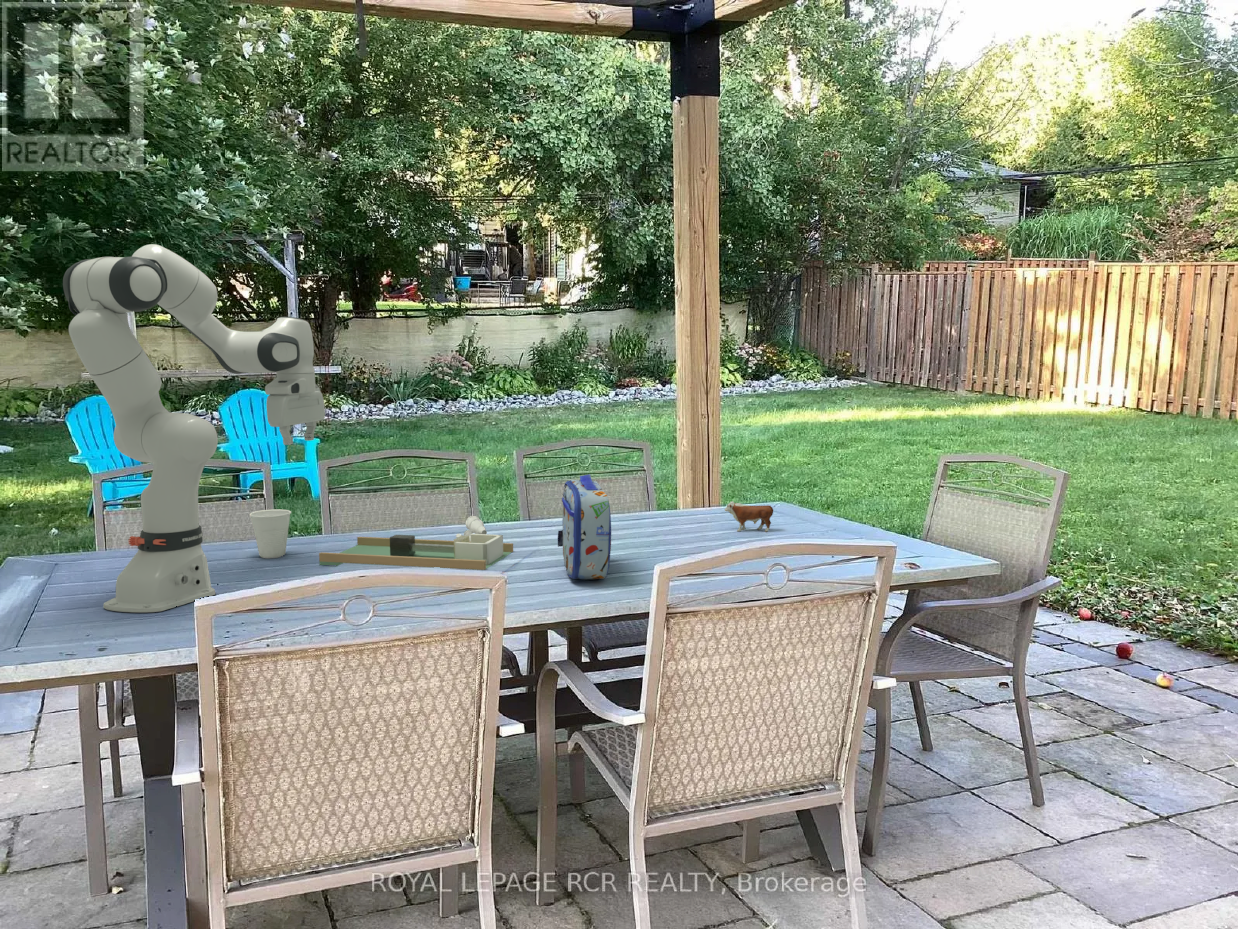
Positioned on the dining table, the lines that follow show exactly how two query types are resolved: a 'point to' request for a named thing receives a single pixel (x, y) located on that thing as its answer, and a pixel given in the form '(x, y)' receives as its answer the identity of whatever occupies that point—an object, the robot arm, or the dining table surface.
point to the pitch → (379, 554)
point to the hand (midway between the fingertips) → (298, 442)
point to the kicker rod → (419, 546)
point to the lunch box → (585, 529)
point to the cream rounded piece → (473, 527)
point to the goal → (480, 548)
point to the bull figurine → (750, 514)
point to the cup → (271, 531)
